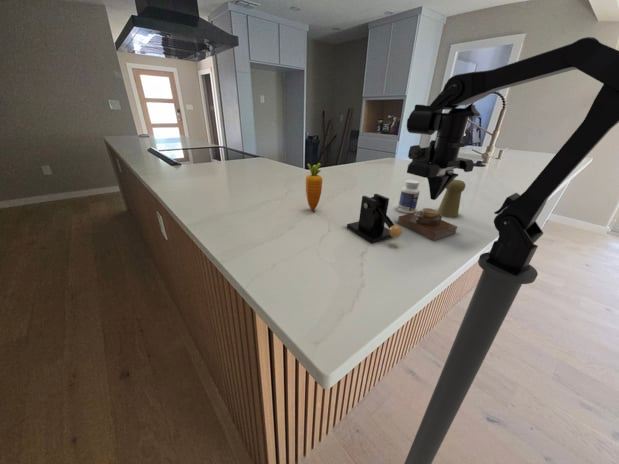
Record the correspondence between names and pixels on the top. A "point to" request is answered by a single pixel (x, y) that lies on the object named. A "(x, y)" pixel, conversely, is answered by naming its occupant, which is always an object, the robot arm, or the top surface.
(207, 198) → the top surface
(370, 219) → the bracket
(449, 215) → the cork
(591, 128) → the robot arm
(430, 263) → the top surface
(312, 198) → the carrot
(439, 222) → the switch block
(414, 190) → the pill bottle
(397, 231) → the ball knob lever
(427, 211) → the button
